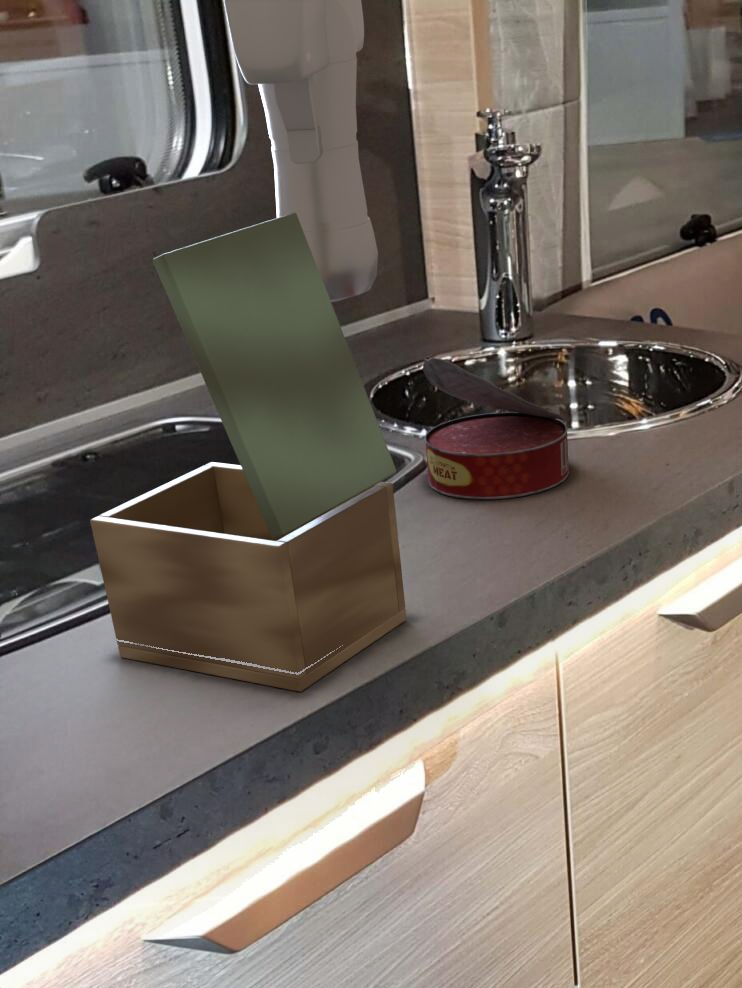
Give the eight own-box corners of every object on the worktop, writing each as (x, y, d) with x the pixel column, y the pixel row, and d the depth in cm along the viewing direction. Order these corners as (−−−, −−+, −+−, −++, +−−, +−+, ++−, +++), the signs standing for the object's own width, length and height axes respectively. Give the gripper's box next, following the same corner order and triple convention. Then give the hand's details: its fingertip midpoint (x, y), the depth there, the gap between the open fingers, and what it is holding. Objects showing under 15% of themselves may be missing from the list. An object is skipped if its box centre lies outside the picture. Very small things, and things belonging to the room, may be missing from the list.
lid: (151, 259, 70) (163, 253, 70) (285, 217, 77) (296, 211, 77) (271, 539, 76) (283, 535, 75) (386, 476, 83) (397, 472, 82)
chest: (119, 657, 86) (89, 519, 81) (233, 591, 93) (211, 461, 88) (300, 692, 80) (279, 546, 76) (407, 619, 87) (393, 482, 83)
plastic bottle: (398, 300, 101) (369, -74, 89) (304, 317, 99) (260, -65, 86) (356, 283, 106) (322, -75, 93) (265, 298, 103) (218, -67, 91)
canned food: (439, 534, 112) (413, 392, 111) (575, 506, 112) (550, 364, 110) (430, 506, 101) (400, 348, 100) (581, 476, 101) (554, 317, 99)
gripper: (275, -118, 97) (305, 133, 105) (186, -115, 81) (230, 181, 89) (373, -126, 96) (396, 128, 105) (303, -125, 80) (336, 176, 88)
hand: (319, 153), depth 97 cm, fingers closed on plastic bottle, 6 cm apart
